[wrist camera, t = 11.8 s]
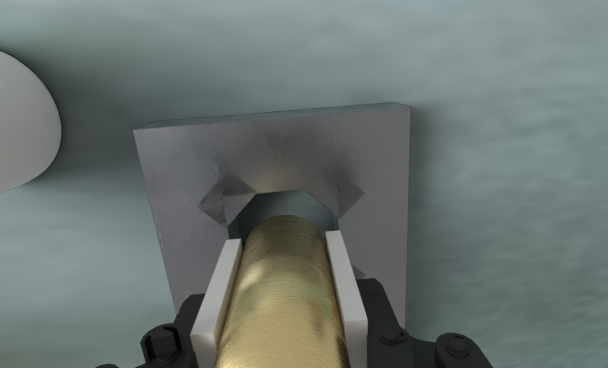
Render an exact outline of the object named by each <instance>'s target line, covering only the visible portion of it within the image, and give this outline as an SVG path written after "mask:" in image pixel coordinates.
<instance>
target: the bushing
mask: <svg viewBox="0 0 608 368" xmlns="http://www.w3.org/2000/svg"><path fill="white" fill-rule="evenodd" d="M213 368H351V366H350V361H349V356H348V351H347V346H346V343H345V338H344V333H343V328H342V323H341V318H340V313H339V308H338V303H337V298H336V293H335V288H334V283H333V278H332V273H331V268H330V263H329V258H328V253H327V248H326V243H325V240H324V237H323V235H322V234H321V232H320V231H319V230H318V228H317V227H316V226H314V225H313V224H312V223H311V222H309V221H307V220H305V219H303V218H300V217H297V216H292V215H280V216H275V217H271V218H269V219H266V220H264V221H263V222H261V223H260V224H258V225H257V226H256V227H255V228H254V229H253V230H252V231H251V233H250V234H249V236H248V238H247V241H246V244H245V248H244V252H243V256H242V259H241V263H240V267H239V271H238V275H237V279H236V283H235V286H234V290H233V294H232V298H231V302H230V306H229V310H228V313H227V317H226V321H225V325H224V329H223V333H222V337H221V340H220V344H219V348H218V352H217V356H216V360H215V364H214V367H213Z"/></svg>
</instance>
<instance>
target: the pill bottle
mask: <svg viewBox="0 0 608 368" xmlns="http://www.w3.org/2000/svg"><path fill="white" fill-rule="evenodd" d="M60 141H61V122H60V117H59V113H58V110H57V107H56V105H55V102H54V100H53V98H52V96H51V95H50V93H49V91H48V90H47V88H46V87H45V85H44V84H43V83H42V82H41V80H40V79H39V78H38V77H37V76H36V75H35V74H34V73H33V72H32V71H31V70H30V69H28V68H27V67H26V66H25V65H23V64H22V63H21V62H19V61H18V60H16V59H15V58H13V57H11V56H9V55H8V54H6V53H3V52H1V51H0V194H1V193H3V192H6V191H8V190H10V189H13V188H15V187H18V186H20V185H23V184H25V183H27V182H29V181H30V180H32V179H34V178H35V177H37V176H39V175H40V174H41V173H43V172H44V171H45V170H46V169H47V168H48V167H49V166H50V164H51V163H52V162H53V160H54V158H55V156H56V154H57V152H58V149H59V146H60Z"/></svg>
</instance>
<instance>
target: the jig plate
mask: <svg viewBox="0 0 608 368" xmlns="http://www.w3.org/2000/svg"><path fill="white" fill-rule="evenodd" d="M410 113H411V108H410V107H407V106H404V105H401V104H397V103H394V102H391V103H378V104H366V105H353V106H341V107H328V108H316V109H304V110H291V111H279V112H266V113H254V114H242V115H229V116H217V117H204V118H192V119H179V120H167V121H155V122H152V123H150V124H147V125H144V126H142V127H139V128H137V129H134V130H133V134H134V138H135V143H136V147H137V151H138V155H139V160H140V164H141V168H142V172H143V176H144V181H145V185H146V189H147V193H148V197H149V202H150V206H151V210H152V214H153V218H154V223H155V227H156V231H157V235H158V239H159V244H160V248H161V252H162V256H163V261H164V265H165V269H166V273H167V277H168V282H169V286H170V290H171V294H172V298H173V303H174V307H175V311H176V315H177V314H178V313H179V310H180V307H181V305H182V303H183V302H184V301H185V300H186V299H187V298H188V297H189V296H190V295H192V294H203V293H206V292H207V289H208V286H209V284H210V281H211V278H212V276H213V273H214V271H215V268H216V265H217V263H218V260H219V257H220V255H221V252H222V249H223V247H224V244H225V242H226V240H232V239H240V232H239V226H238V219H237V215H238V214H239V213H240V212H241V210H242V209H243V208H244V207H245V206H246V205H247V204H248V202H249V201H250V200H251V199H252V198H253V197H254V195H255V194H257V193H269V192H281V191H292V190H305V191H306V192H307V193H309V194H310V195H311V196H312V197H314V198H315V199H316V200H317V201H319V202H320V203H321V204H322V205H324V206H325V207H326V208H327V209H329V210H330V211H331V212H332V213H333V224H334V231H339V230H340V231H341V235H342V238H343V241H344V244H345V248H346V251H347V254H348V257H349V261H350V264H351V267H352V270H353V274H354V277H355V280H356V279H368V278H375V279H376V280H377V281H379V282H380V283H381V284H382V285H383V288H384V290H385V292H386V295H387V297H388V299H389V302H390V304H391V306H392V309H393V311H394V313H395V316H396V318H397V320H398V323H399V325H400V327H402V328H404V329H405V307H406V268H407V229H408V190H409V152H410ZM241 243H242V242H241ZM244 248H245V245H244V244H243V243H242V250H243V252H244Z"/></svg>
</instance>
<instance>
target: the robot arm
mask: <svg viewBox="0 0 608 368" xmlns="http://www.w3.org/2000/svg"><path fill="white" fill-rule="evenodd" d="M326 248H327V253H328V258H329V263H330V268H331V273H332V278H333V283H334V288H335V293H336V298H337V303H338V308H339V313H340V318H341V323H342V328H343V333H344V338H345V343H346V346H347V351H348V356H349V361H350V366H351V368H493V367H492V366H491V364H490V363H489V361H488V360H487V358H486V357H485V356H484V354H483V353H482V351H481V350H480V348H479V347H478V346H477V345H476V344H475V343H474V342H473V341H472V340H471V339H469V338H468V337H466V336H464V335H461V334H457V333H446V334H442V335H440V336H439V337H438V338H437V340H436V343H434V342H428V341H422V340H418V339H415V338H413V337H411V336H409V334H408V332H407V331H406V330H405V329H404V328H402V327H400V325H399V323H398V320H397V318H396V316H395V313H394V311H393V309H392V306H391V304H390V302H389V299H388V297H387V295H386V292H385V290H384V288H383V285H382V284H381V283H380V282H379V281H377V280H376V279H375V278H368V279H356V280H355V277H354V274H353V270H352V267H351V264H350V261H349V257H348V254H347V251H346V248H345V244H344V241H343V238H342V235H341V231H340V230H339V231H327V232H326ZM242 256H243V250H242V243H241V239H232V240H226V242H225V244H224V247H223V249H222V252H221V255H220V257H219V260H218V263H217V265H216V268H215V271H214V273H213V276H212V278H211V281H210V284H209V286H208V289H207V292H206V293H203V294H192V295H190V296H189V297H188V298H187V299H186V300H185V301H184V302H183V303H182V305H181V307H180V310H179V313H178V314H177V316H176V318H175V321H174V323H169V324H163V325H160V326H157V327H155V328H153V329H152V330H150V331H148V332H147V333H146V334H145V335H144V336H143V338H142V340H141V342H140V344H141V347H142V351H143V354H144V358H145V361H146V363H145V364H143V365H141V366H138V367H135V368H213V367H214V364H215V360H216V356H217V352H218V348H219V344H220V340H221V337H222V333H223V329H224V325H225V321H226V317H227V313H228V310H229V306H230V302H231V298H232V294H233V290H234V286H235V283H236V279H237V275H238V271H239V267H240V263H241V259H242ZM96 368H119V367H117V366H116V365H114V364H105V365H100V366H98V367H96Z"/></svg>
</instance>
